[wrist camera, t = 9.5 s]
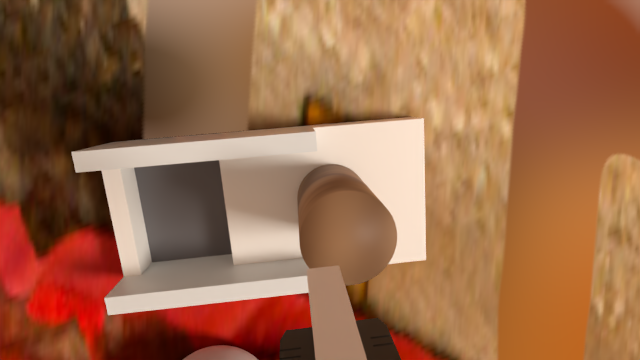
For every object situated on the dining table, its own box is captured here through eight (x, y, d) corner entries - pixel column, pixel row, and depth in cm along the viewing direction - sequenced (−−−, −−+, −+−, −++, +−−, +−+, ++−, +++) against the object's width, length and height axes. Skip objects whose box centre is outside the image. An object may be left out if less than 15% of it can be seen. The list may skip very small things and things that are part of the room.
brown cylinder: (297, 230, 33) (299, 286, 23) (297, 163, 31) (299, 192, 22) (364, 230, 33) (394, 284, 23) (367, 164, 32) (400, 191, 22)
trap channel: (140, 276, 36) (108, 315, 29) (113, 141, 33) (71, 152, 26) (415, 247, 37) (441, 277, 31) (412, 116, 34) (440, 120, 28)
